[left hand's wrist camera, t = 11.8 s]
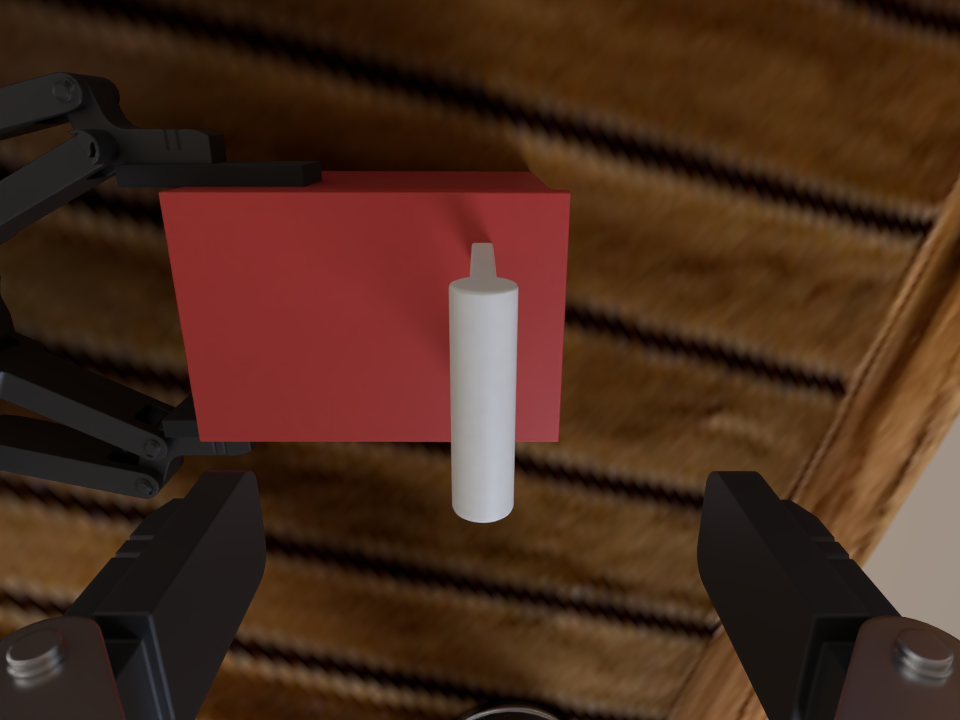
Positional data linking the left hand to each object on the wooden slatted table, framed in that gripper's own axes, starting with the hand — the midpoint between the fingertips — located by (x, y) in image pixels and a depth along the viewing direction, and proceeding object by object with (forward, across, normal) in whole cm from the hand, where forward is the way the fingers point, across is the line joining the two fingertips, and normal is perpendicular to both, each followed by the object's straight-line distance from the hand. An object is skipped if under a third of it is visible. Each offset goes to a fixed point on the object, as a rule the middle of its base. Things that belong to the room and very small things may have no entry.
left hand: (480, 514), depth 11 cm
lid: (+12, +4, 0) cm, 13 cm away
